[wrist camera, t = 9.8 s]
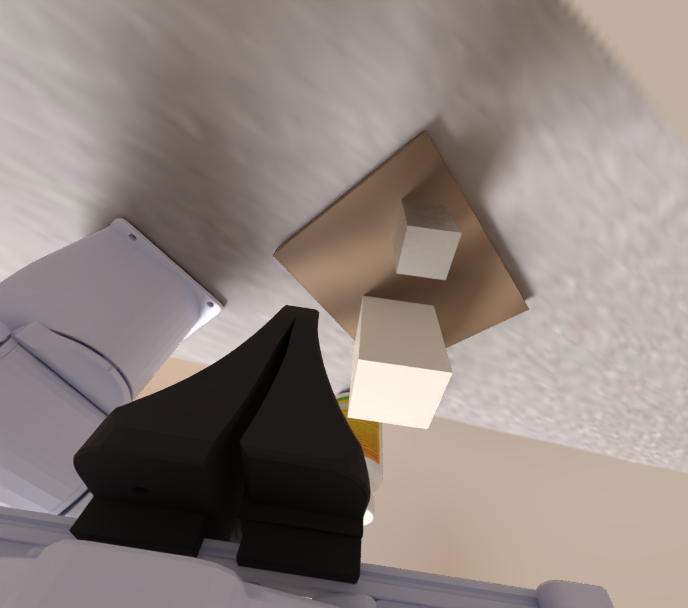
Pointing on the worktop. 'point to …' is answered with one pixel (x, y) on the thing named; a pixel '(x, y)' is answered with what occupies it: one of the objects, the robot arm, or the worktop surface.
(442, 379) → the cream rectangular block
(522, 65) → the worktop surface
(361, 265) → the board
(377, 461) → the supplement bottle
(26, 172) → the worktop surface
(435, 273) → the post
